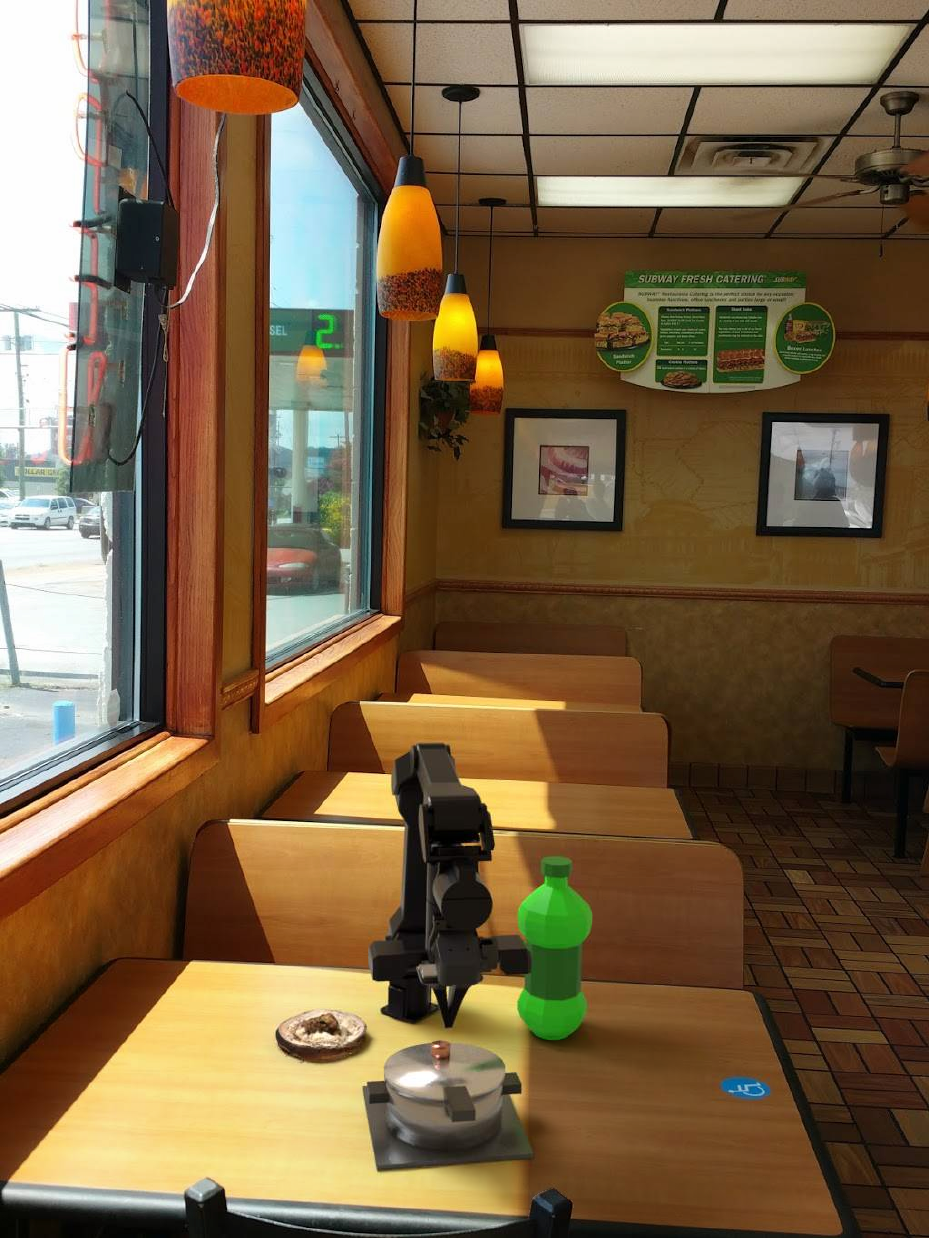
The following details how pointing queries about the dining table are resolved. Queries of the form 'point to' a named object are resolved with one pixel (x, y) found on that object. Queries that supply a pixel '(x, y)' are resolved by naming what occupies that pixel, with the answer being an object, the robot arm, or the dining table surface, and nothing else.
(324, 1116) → the dining table surface
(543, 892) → the plastic bottle
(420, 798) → the robot arm
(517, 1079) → the cooker pot
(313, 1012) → the bowl of rice
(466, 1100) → the cooker lid
